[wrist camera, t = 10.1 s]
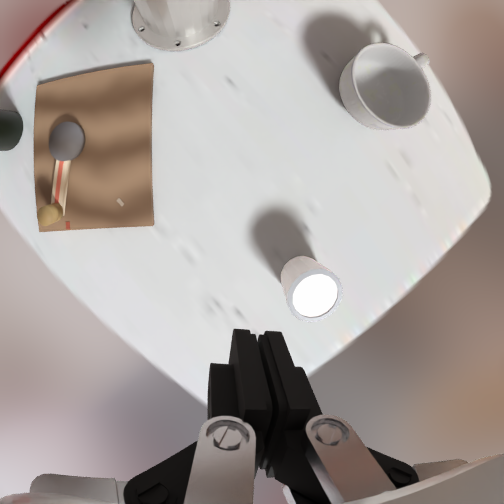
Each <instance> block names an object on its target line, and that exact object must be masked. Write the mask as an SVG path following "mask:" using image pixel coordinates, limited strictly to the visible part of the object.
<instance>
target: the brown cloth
mask: <svg viewBox="0 0 504 504" xmlns="http://www.w3.org/2000/svg"><path fill="white" fill-rule="evenodd" d="M153 73H154V65H153V63H149V64H140V65H132V66H125V67H119V68H112V69H106V70H101V71H95V72H90V73H85V74H81V75H76V76H72V77H67V78H63V79H59V80H55V81H52V82H48V83H44V84H41V85H37V90H36V101H35V118H34V177H35V194H36V206H37V213H38V210H39V209H40V208H41V207H43V206H46V205H49V204H51V198H52V188H53V180H54V172H55V165H56V159H55V158H54V157H53V156H52V155H51V153H50V150H49V138H50V135H51V133H52V131H53V129H54V128H55V127H56V126H57V125H59V124H60V123H62V122H73V123H77V124H78V125H80V126H81V127H82V129H83V130H84V133H85V145H84V148H83V150H82V152H81V153H80V155H79V156H78V157H76V158H75V159H73V160H71V165H70V172H69V179H68V186H67V195H66V204H65V215H64V216H63V217H62V218H61V220H59V221H57V222H55V223H53V224H50V225H48V226H43V225H41V224H40V223H39V221H38V225H39V232H48V231H63V230H79V229H97V228H117V227H138V226H153V225H154V212H153V189H152V93H153Z"/></svg>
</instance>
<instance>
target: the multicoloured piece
mask: <svg viewBox="0 0 504 504" xmlns="http://www.w3.org/2000/svg"><path fill="white" fill-rule="evenodd" d="M84 145H85V133H84V130H83V129H82V127H81V126H80V125H78V124H77V123H73V122H62V123H60V124H59V125H57V126H56V127H55V128H54V129H53V131H52V133H51V135H50V138H49V150H50V153H51V155H52V156H53V157H54V158H55V159H56V165H55V172H54V180H53V188H52V198H51V204H49V205H46V206H43V207H41V208H40V209H39V210H38V213H37V219H38V221H39V223H40V224H41V225H43V226H48V225H50V224H53V223H55V222H57V221H59V220H61V218H62V217H63V216H64V215H65V204H66V195H67V186H68V179H69V172H70V165H71V160H73V159H75V158H76V157H78V156H79V155H80V153H81V152H82V150H83V148H84Z"/></svg>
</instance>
